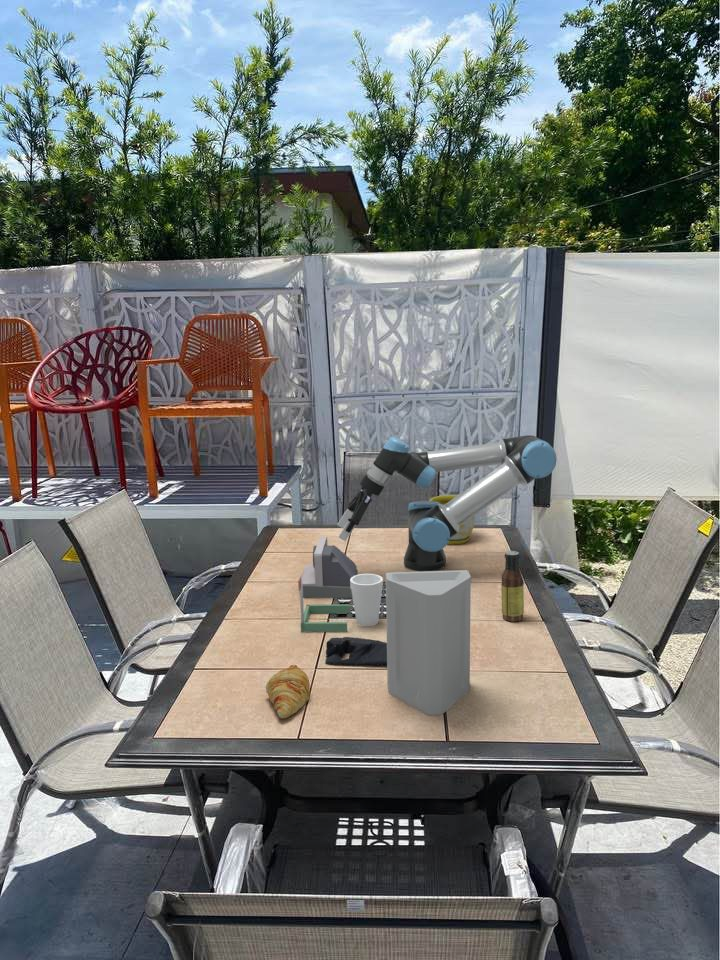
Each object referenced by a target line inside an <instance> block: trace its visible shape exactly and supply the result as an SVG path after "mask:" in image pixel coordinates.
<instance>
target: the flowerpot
mask: <svg viewBox="0 0 720 960" xmlns="http://www.w3.org/2000/svg"><path fill="white" fill-rule="evenodd" d="M458 495H459V494H446V495H444V494H443V495H438V496H434V497H431V498H430V499H429V500H428V501H436V502H439V503H441V504H442V505H445V504H446V503H448V502H449V501H451V500H452V499H454V498H455V497H456V496H458ZM475 517H476V515H474V516H473V517H472V518H470V519H469V520H467V521H466V522H464V523H463V524H462V525H460V527H459V532H458V533H457V534H455V535H454V536H452V537H451V538H450V539H449V541H448V543H447V545H453V546H454V545H462V544H465V543H467V542H468V540H470V539H471V536H470V535H471V533H472V532H473V530H474V527H475V523H476V522H475V521H476V520H475Z"/></svg>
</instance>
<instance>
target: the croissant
mask: <svg viewBox="0 0 720 960" xmlns="http://www.w3.org/2000/svg"><path fill="white" fill-rule="evenodd" d="M310 688H311V685H310V679H309V676H308V675H307V673H306V672H305V671H304V670H303V669H301V668H300V667H298V666H297V665H296V664H295V665H294V664H293V665H292V664H291V665H290V666H289V667H287V668H284V669H282V670H278V672H276V673H275V674H273V675H272V677H270V678H269V680H268V681H267V682H266V684H265V690H266V691H265V692H266V693H267V695H268V699H269V701H270V702H271V703H272V704H273V709H274V710H275V711H277V716H278V717H279V718H280V719H287V718H289V717H290V716H292V715H295V713H297V712H298V710H301V708H302V707H303V706H304V705H305V703H307V702H308V701H310V697H311V696H310V695H311V692H310V691H311V689H310Z"/></svg>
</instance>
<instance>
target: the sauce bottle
mask: <svg viewBox="0 0 720 960" xmlns="http://www.w3.org/2000/svg"><path fill="white" fill-rule="evenodd" d="M504 559H505V566H504V567H505V568H504V570H503V572H502V574H501V614H502V618H503V619H504V620H505V621H507V622H514V623H515V622H520V621H522V620H523V619H524V613H525V606H524V605H525V604H524V603H525V602H524V601H525V599H524V597H525V596H524V595H525V594H524V593H525V592H524V588H525V587H524V578H523V575H522V572H521V569H520V565H519V564H520V563H519V562H520V561H519V559H520V552H518V551H515V550H509V551H507V550H506V551H505V552H504Z"/></svg>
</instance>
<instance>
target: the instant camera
mask: <svg viewBox="0 0 720 960" xmlns="http://www.w3.org/2000/svg"><path fill="white" fill-rule="evenodd" d="M355 575H359V571H358V569H357V565H356V563H355V562H354V561H353V560H352V559H351V558H350V557H349V556H347V555H346V554H345V553H344V552H343V551H342V550H341V549H340V548H339V547H337V546H336V545H328V536H319V538H318V541H317V544H316V545H313V549H312V563H309V564H307V565H305V566H304V568H303V573H302V586H303V599H349V598H352V599H353V597H352V591H351V589H350V578H352V577H353V576H355Z"/></svg>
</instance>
